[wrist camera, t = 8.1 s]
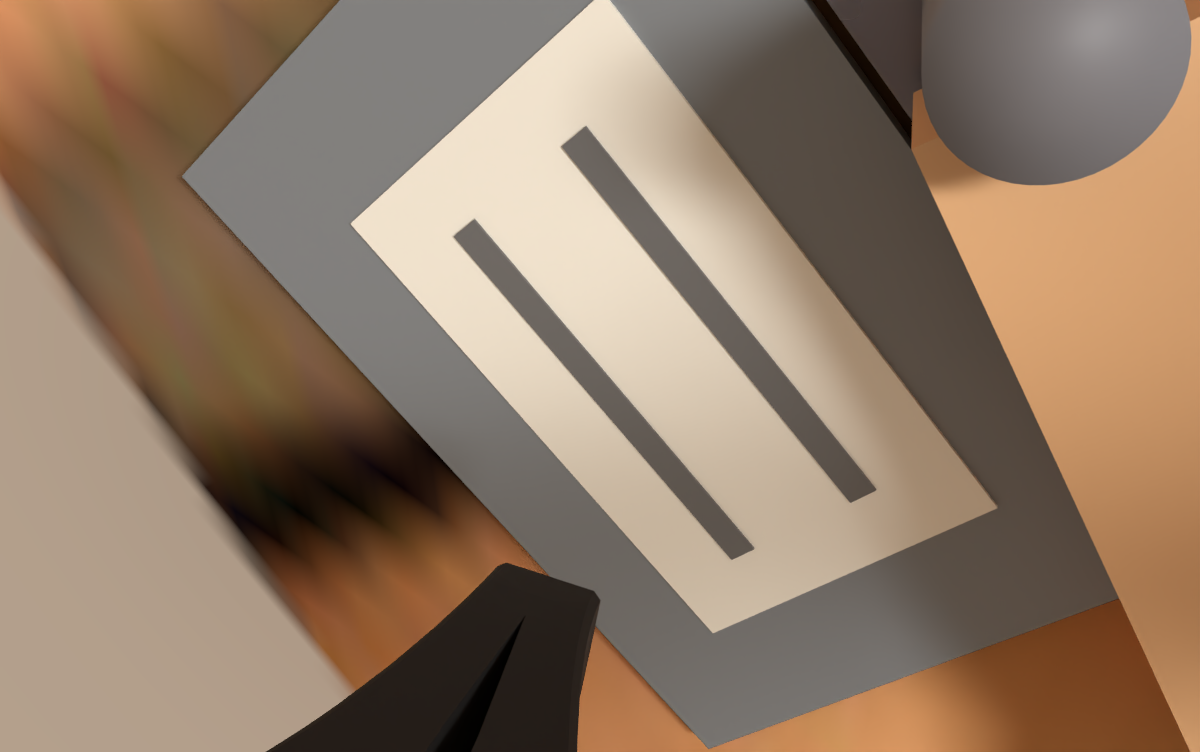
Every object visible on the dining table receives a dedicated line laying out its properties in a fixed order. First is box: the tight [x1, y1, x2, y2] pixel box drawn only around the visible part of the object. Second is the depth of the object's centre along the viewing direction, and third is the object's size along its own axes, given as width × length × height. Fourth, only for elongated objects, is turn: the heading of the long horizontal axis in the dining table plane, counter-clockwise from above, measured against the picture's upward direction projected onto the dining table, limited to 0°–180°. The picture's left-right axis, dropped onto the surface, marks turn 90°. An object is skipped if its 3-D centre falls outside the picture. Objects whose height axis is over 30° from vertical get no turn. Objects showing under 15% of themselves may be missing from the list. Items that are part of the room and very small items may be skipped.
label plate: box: [182, 0, 1119, 749], centre depth 20 cm, size 18×12×1 cm, turn 41°
